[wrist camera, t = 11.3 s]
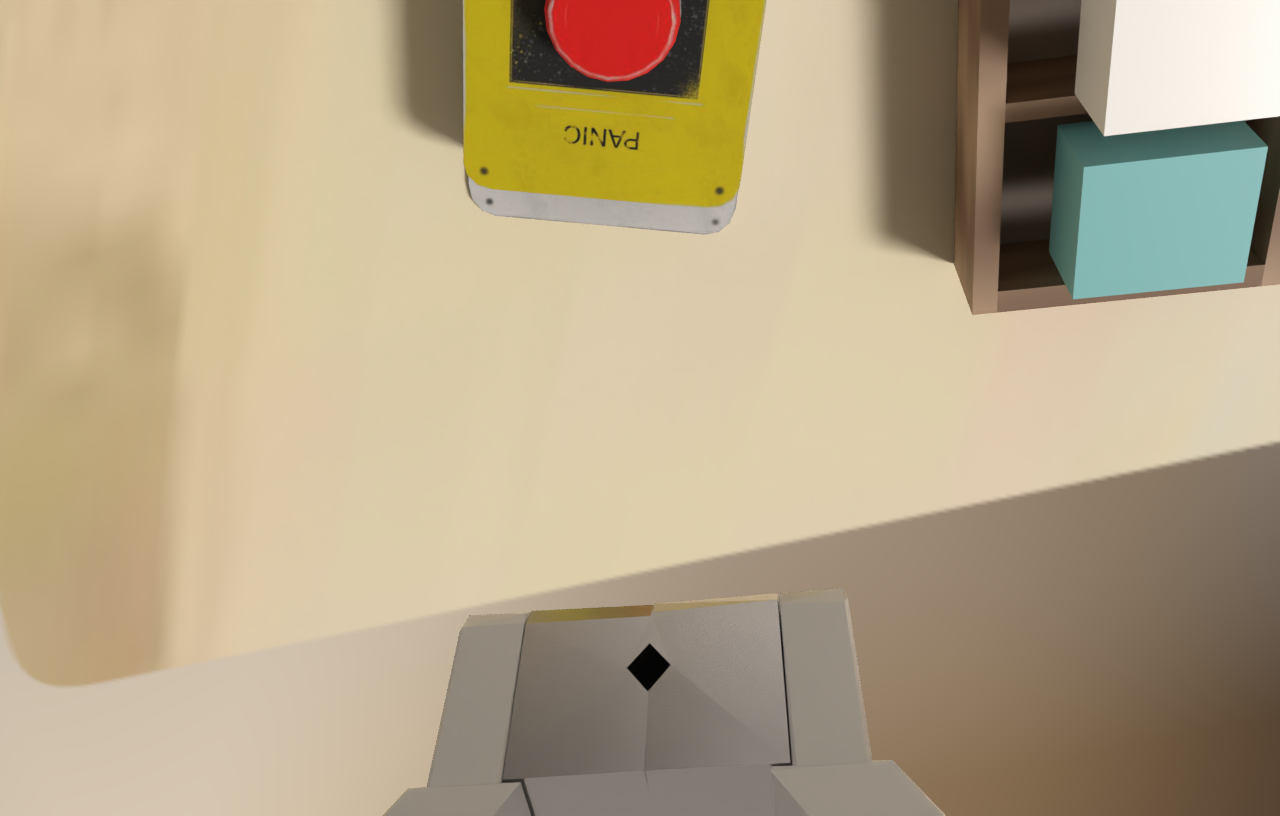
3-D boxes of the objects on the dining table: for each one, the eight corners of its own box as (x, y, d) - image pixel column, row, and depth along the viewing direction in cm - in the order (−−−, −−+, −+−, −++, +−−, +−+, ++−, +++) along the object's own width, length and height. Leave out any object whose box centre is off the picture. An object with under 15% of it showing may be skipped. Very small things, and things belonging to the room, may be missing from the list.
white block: (1076, -75, 32) (1119, -32, 29) (1269, -101, 32) (1334, -60, 29) (1065, 80, 35) (1103, 136, 32) (1243, 59, 34) (1301, 113, 31)
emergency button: (811, -220, 30) (735, 291, 39) (798, -245, 34) (731, 228, 43) (444, -256, 30) (450, 266, 39) (470, -277, 34) (470, 205, 42)
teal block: (1049, 111, 37) (1083, 167, 34) (1216, 92, 37) (1267, 146, 33) (1041, 237, 40) (1072, 299, 36) (1197, 220, 39) (1244, 282, 36)
